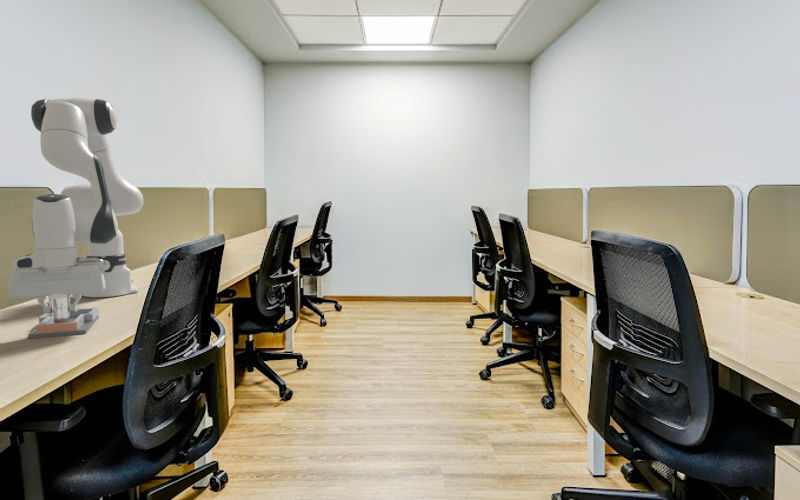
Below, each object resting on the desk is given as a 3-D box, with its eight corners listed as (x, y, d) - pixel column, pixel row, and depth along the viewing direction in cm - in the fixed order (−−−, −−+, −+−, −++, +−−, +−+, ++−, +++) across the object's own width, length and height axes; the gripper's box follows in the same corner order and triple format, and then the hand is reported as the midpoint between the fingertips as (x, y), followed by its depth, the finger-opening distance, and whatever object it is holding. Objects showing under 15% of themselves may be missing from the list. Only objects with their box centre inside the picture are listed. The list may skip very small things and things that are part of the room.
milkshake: (79, 324, 127) (76, 286, 126) (58, 329, 122) (56, 290, 121) (66, 323, 129) (64, 285, 128) (46, 328, 124) (43, 289, 123)
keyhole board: (48, 321, 136) (47, 311, 135) (98, 317, 140) (97, 307, 140) (28, 338, 119) (27, 326, 119) (85, 333, 124) (85, 321, 124)
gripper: (106, 255, 131) (109, 306, 132) (12, 259, 123) (16, 313, 124) (102, 258, 125) (105, 311, 126) (3, 262, 117) (8, 318, 118)
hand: (60, 312), depth 125 cm, fingers closed on milkshake, 4 cm apart
